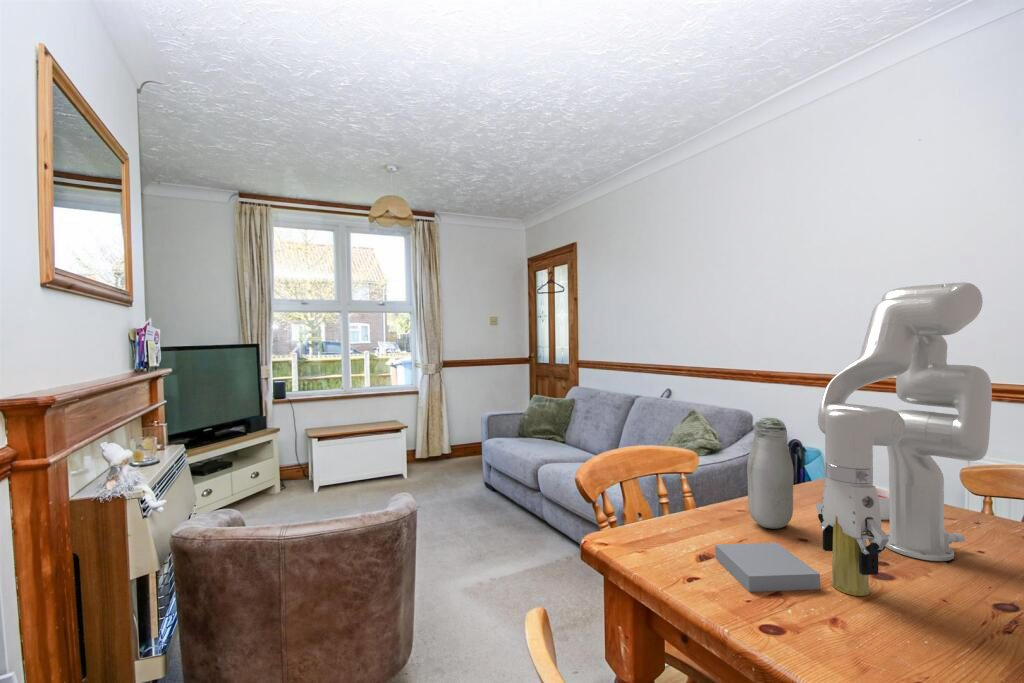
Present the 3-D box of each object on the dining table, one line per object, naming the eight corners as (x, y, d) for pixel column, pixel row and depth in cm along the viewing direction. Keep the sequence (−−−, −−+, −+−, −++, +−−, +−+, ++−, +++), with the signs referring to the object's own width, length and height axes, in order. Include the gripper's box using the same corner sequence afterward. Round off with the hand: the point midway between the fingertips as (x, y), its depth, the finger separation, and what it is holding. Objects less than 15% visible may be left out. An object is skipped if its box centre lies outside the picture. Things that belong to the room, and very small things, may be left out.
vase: (876, 598, 88) (875, 522, 88) (840, 595, 90) (839, 520, 89) (859, 581, 94) (858, 510, 94) (825, 579, 96) (824, 508, 95)
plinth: (777, 556, 106) (776, 542, 106) (820, 589, 92) (819, 573, 92) (715, 558, 105) (715, 544, 105) (749, 591, 91) (748, 576, 91)
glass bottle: (768, 536, 116) (767, 422, 116) (740, 520, 126) (739, 415, 126) (803, 532, 118) (801, 420, 118) (772, 517, 128) (771, 414, 128)
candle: (906, 521, 123) (906, 497, 123) (871, 522, 124) (871, 498, 124) (880, 509, 132) (879, 486, 132) (847, 509, 133) (847, 487, 132)
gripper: (906, 487, 83) (906, 584, 83) (835, 461, 100) (835, 542, 100) (864, 487, 83) (864, 585, 83) (800, 462, 100) (801, 543, 100)
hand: (849, 561), depth 92 cm, fingers open, 9 cm apart
